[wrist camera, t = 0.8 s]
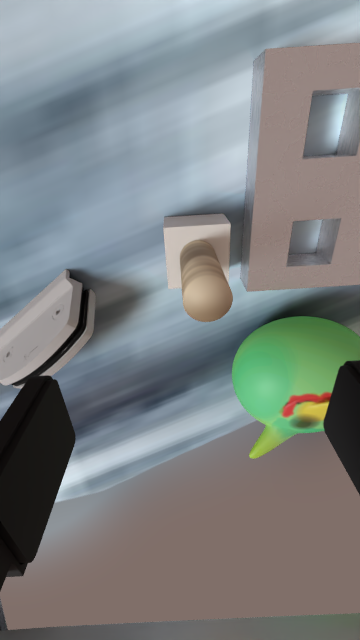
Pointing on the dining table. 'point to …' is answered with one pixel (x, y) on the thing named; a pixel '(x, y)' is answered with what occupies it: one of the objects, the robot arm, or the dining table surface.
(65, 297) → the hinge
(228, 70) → the dining table surface
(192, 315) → the peg
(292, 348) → the toy bird
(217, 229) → the beige square block
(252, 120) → the plate
